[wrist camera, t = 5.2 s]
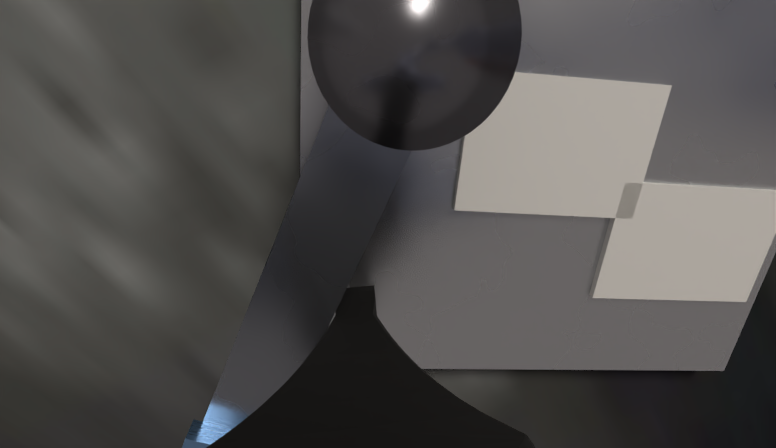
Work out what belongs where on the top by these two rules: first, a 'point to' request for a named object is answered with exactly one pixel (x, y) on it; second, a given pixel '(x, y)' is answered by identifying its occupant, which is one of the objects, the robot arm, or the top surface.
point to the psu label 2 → (686, 243)
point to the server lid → (575, 233)
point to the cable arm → (360, 166)
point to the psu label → (560, 147)
